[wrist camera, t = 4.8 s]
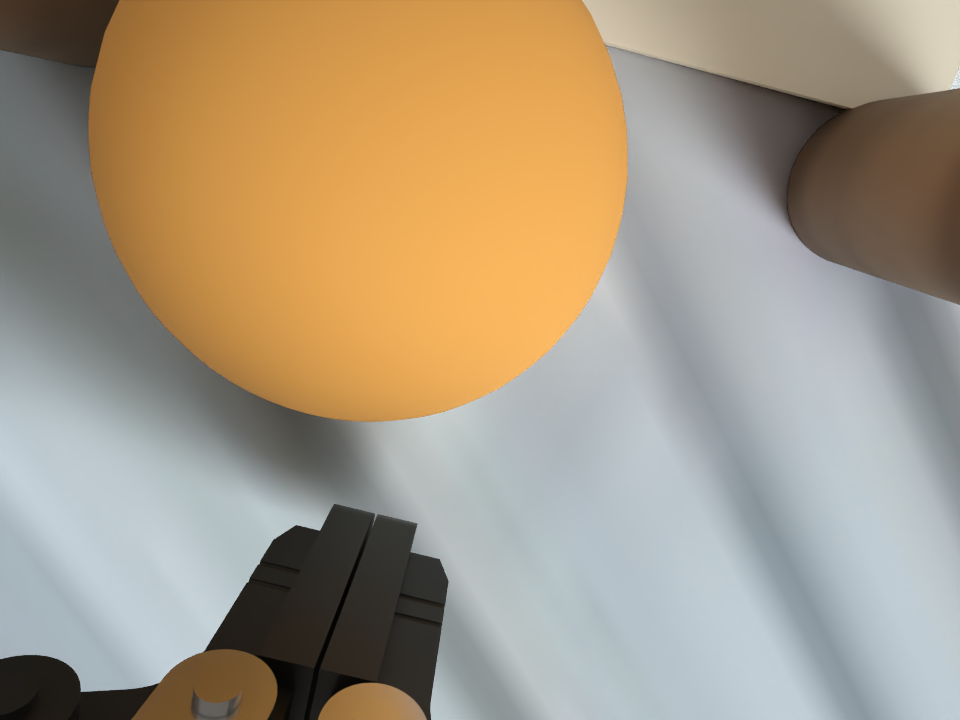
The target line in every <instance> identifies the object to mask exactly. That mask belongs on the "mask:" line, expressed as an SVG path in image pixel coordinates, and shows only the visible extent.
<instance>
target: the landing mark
mask: <svg viewBox="0 0 960 720" xmlns="http://www.w3.org/2000/svg"><path fill="white" fill-rule="evenodd" d="M582 1H583V3H584V4H585V6H586V7H587V9H588V10H589V12H590V14H591V15H592V17H593V20H594V22H595V24H596V26H597V28H598V31H599V33H600V35H601V37H602V39H603V42H604V44H605V45H608V46H612V47H616V48H620V49H623V50H627V51H631V52H635V53H638V54H642V55H646V56H649V57H653V58H657V59H661V60H664V61H668V62H672V63H676V64H679V65H683V66H687V67H691V68H694V69H698V70H702V71H705V72H709V73H713V74H717V75H720V76H724V77H728V78H732V79H735V80H739V81H743V82H747V83H750V84H754V85H758V86H761V87H765V88H769V89H773V90H776V91H780V92H784V93H788V94H791V95H795V96H799V97H803V98H806V99H810V100H814V101H817V102H821V103H825V104H829V105H832V106H836V107H840V108H844V109H853V108H855V107H858V106H860V105H863V104H866V103H870V102H874V101H879V100H885V99H892V98H898V97H905V96H912V95H919V94H925V93H932V92H939V91H946V90H949V89H950V87H951V85H952V83H953V80H954V78H955V76H956V74H957V72H958V69H959V67H960V0H582Z"/></svg>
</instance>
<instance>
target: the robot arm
mask: <svg viewBox="0 0 960 720" xmlns="http://www.w3.org/2000/svg"><path fill="white" fill-rule="evenodd" d="M374 517H375V514H374V513H370V512H366V511H362V510H358V509H354V508H350V507H345V506H341V505H337V504H334V505H333V507H332V509H331V511H330V513H329V515H328V517H327V518H326V520H325V522H324V524H323V526H322V528H321V530H320V531H318V530H314V529H310V528H306V527H302V526H297V525H296V526H294V527H293V528H291V529H290V530H288V531H286V532H285V533H283V534H282V535H280V536H279V537H277V538H276V539H274V540H273V541H272V543H271V545H270V546H269V548H268V549H267V551H266V553H265V554H264V556H263V558H262V559H261V561H260V564H259V565H258V566H257V567H256V569H255V570H254V572H253V574H252V575H251V577H250V579H249V582H248V583H246V585H245V587H244V588H243V590H242V591H241V593H240V595H239V596H238V598H237V600H236V601H235V603H234V604H233V606H232V608H231V609H230V611H229V612H228V614H227V616H226V617H225V619H224V621H223V622H222V624H221V625H220V627H219V629H218V630H217V632H216V633H215V635H214V637H213V638H212V640H211V641H210V643H209V645H208V646H207V648H206V650H205V651H204V652H203V653H199V654H196V655H194V656H192V657H189V658H187V659H186V660H184V661H182V662H181V663H179V664H178V665H176V666H175V667H174V668H173V669H171V670H170V671H169V673H168V674H167V675H166V676H165V677H164V678H163V679H162V681H161V682H160V683H158V684H155V685H152V686H147V687H143V688H136V689H127V690H109V691H91V692H81V688H80V681H79V678H78V676H77V674H76V673H75V671H74V670H73V669H72V668H71V667H70V666H69V665H67V664H66V663H64V662H62V661H60V660H58V659H55V658H51V657H48V656H40V655H22V656H14V657H9V658H4V659H0V720H431V714H430V702H431V695H432V688H433V681H434V675H435V668H436V661H437V655H438V648H439V641H440V635H441V626H442V621H443V614H444V606H445V601H446V594H447V588H448V579H447V577H446V574H445V572H444V569H443V567H442V564H441V562H440V559H436V558H432V557H428V556H424V555H420V554H415V553H411V548H412V544H413V539H414V535H415V531H416V527H417V523H413V522H409V521H404V520H400V519H396V518H392V517H388V516H384V515H379V514H378V515H377V517H376V520H375V522H374ZM373 523H374V525H373Z"/></svg>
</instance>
